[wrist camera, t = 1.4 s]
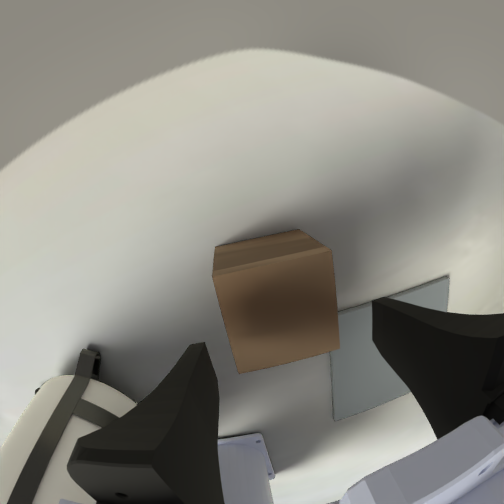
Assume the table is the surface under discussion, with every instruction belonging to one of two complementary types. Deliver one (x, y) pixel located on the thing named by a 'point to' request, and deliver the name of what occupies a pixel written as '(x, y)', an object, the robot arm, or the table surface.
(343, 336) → the slate mat
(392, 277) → the table surface
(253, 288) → the wooden grain cube
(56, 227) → the table surface
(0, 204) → the table surface
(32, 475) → the coffee press
